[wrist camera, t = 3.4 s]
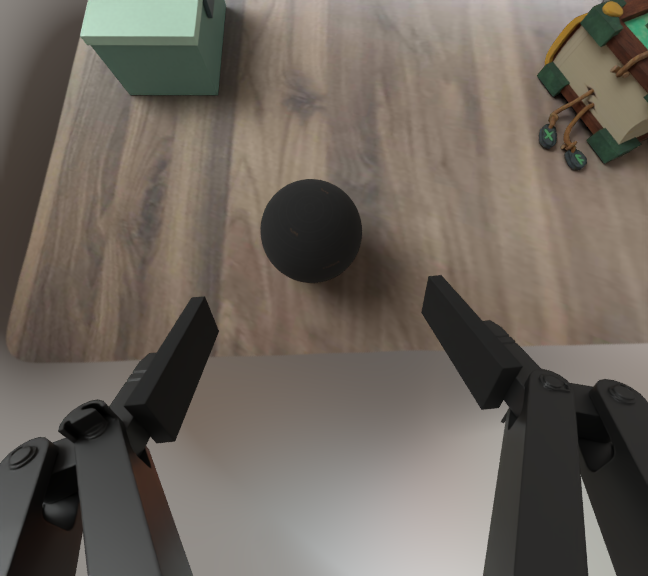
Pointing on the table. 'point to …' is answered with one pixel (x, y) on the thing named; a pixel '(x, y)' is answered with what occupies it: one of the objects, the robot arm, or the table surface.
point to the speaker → (311, 231)
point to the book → (601, 79)
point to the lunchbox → (159, 43)
